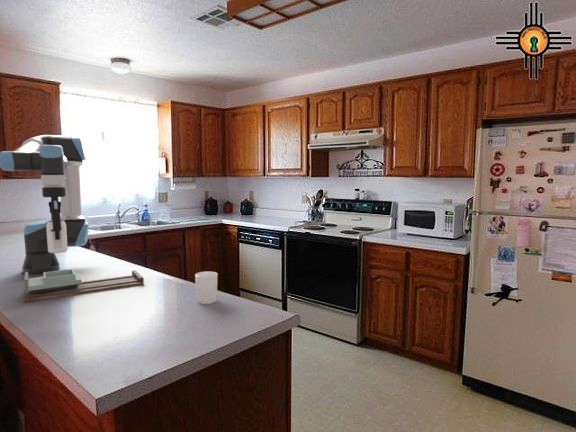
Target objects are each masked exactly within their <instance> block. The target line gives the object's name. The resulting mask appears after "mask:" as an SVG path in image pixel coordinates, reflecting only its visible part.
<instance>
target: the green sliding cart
mask: <svg viewBox="0 0 576 432" xmlns="http://www.w3.org/2000/svg"><path fill="white" fill-rule="evenodd" d="M42 274H43V275H42V276H38V277H29V274H28V272H25V273H24V294H25V293H29V291H31V290H33V293H34V294H39V293H40V292H41V289H45V288H53V287H60V286H67V285H70V286H71V288H72V289H75V288H77V287H78V284H82V282H83V280H82V278H81V275H80V273H79V272H75V271H74V268H72V269H71V268H69V269H59V270H56V271H51V272H43V273H42Z"/></svg>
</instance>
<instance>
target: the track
mask: <svg viewBox="0 0 576 432" xmlns="http://www.w3.org/2000/svg"><path fill="white" fill-rule="evenodd" d="M144 284H145V280H144V277H143V276H142V275H141V274H140V273H139V272H138V271H137V270H135V269H134V270H131V274H130V275H125V276H117V277H116V276H115V277H107V278H102V279H101V278H100V279H93V280H88V281H87V280H86V281H82V284H78V287H77V288H75V289H72V288H71V286H70V285H67V286H60V287H53V288H45V289H41V292H40V293H39V294H34V293H33V290H31V291H29V293H25V292H24V295H23V303H30V302H36V301H37V302H38V301H43V300H44V301H45V300H50V299H56V298H63V297H69V296H76V295H77V296H78V295H85V294H91V293H97V292H104V291H111V290H117V289H125V288H131V287H137V286H138V287H139V286H143V285H144Z"/></svg>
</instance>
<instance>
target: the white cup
mask: <svg viewBox="0 0 576 432" xmlns="http://www.w3.org/2000/svg"><path fill="white" fill-rule="evenodd" d="M194 277H195V278H194V280H195V282H194V283H195V292H196V301H197V303H198V304H199V305H200V304H201V305H210V304H214V303H216V302H217V294H218V272H216V271H199V272H196V273H195V274H194Z"/></svg>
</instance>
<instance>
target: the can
mask: <svg viewBox="0 0 576 432" xmlns="http://www.w3.org/2000/svg"><path fill="white" fill-rule="evenodd" d="M46 221H47V222H48V223H47V225H46V228H47V243H48V252H49V253H55V254H61V253H65V252H67V251H68V247H67V232H66V224H65V222H64V220H61V236H62V248H56V249H54V244H53V231H52V232H51V230H53V221H52V220H46Z"/></svg>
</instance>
